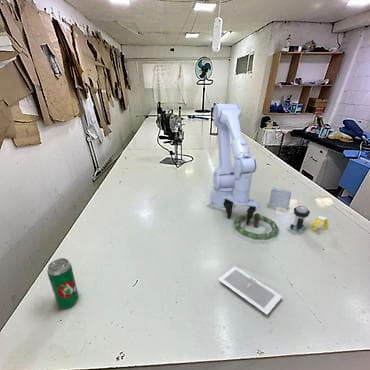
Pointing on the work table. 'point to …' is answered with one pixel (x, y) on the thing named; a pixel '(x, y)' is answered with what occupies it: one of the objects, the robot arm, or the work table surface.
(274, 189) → the medicine box
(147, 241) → the work table surface
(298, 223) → the push button
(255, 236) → the ring
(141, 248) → the work table surface
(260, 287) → the touchpad
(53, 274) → the soda can
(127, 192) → the work table surface
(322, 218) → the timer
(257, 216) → the peg
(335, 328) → the work table surface
